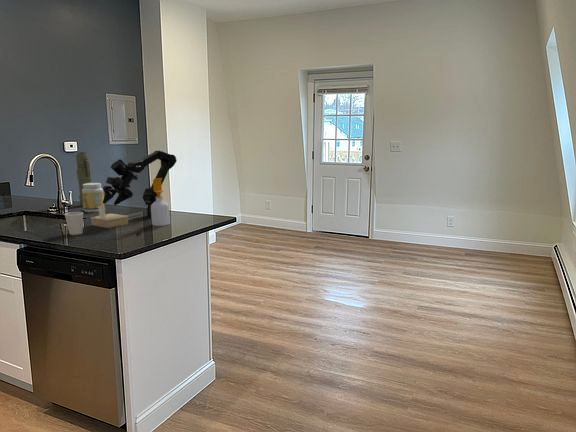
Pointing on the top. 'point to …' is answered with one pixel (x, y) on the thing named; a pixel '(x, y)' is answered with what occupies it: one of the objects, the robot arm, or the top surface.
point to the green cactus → (83, 172)
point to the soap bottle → (159, 206)
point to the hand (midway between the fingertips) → (108, 204)
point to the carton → (110, 223)
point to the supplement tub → (92, 197)
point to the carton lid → (107, 215)
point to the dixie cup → (74, 222)
